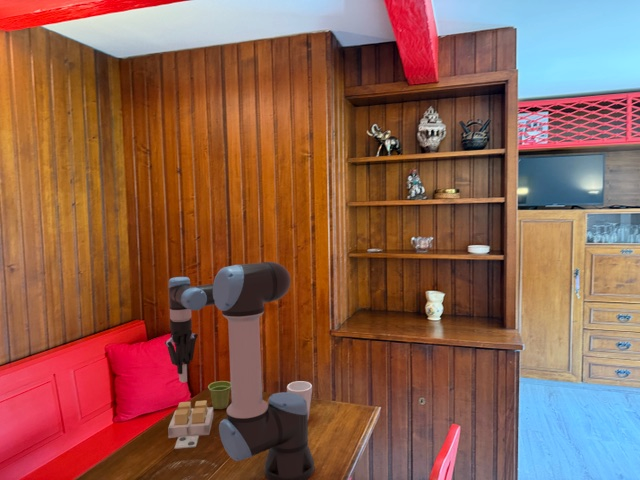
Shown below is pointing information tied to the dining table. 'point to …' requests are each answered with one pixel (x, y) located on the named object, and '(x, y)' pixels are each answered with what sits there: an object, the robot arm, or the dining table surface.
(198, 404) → the button far right
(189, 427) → the board
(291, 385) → the foam cup
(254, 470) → the dining table surface
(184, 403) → the tan cube block
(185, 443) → the pattern card
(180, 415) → the button near left
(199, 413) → the button near right
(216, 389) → the plant pot
